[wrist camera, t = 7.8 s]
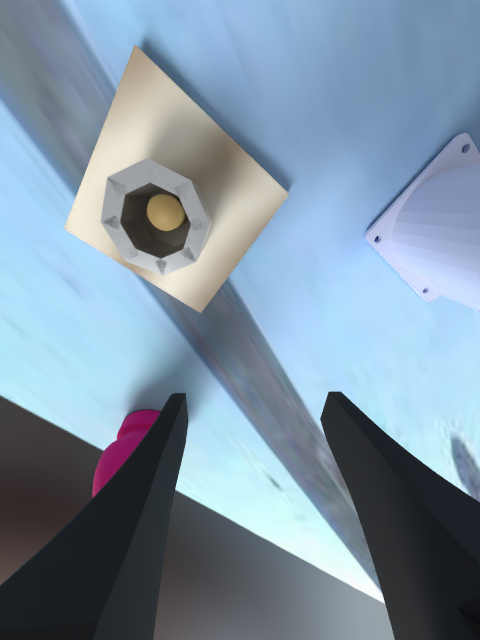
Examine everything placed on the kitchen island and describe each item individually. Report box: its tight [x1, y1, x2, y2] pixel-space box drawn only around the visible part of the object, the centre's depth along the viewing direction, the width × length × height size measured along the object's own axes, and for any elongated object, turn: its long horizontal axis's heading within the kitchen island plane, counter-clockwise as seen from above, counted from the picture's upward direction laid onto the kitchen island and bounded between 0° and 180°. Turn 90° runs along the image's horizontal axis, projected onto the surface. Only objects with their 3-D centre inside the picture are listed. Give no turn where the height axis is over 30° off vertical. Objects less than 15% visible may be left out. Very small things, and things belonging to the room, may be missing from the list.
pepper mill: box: [93, 410, 160, 497], centre depth 17 cm, size 7×7×20 cm
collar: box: [101, 158, 213, 276], centre depth 13 cm, size 5×5×4 cm
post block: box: [64, 45, 289, 313], centre depth 14 cm, size 11×11×4 cm
